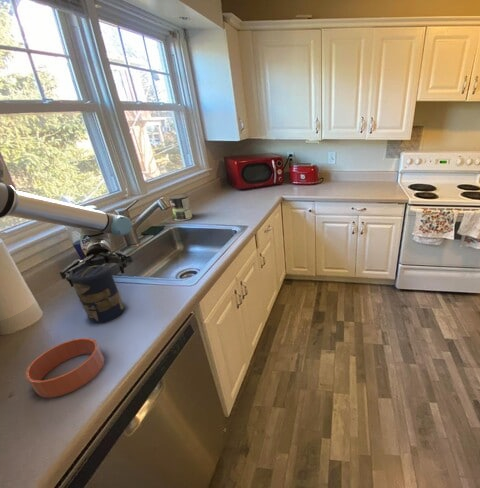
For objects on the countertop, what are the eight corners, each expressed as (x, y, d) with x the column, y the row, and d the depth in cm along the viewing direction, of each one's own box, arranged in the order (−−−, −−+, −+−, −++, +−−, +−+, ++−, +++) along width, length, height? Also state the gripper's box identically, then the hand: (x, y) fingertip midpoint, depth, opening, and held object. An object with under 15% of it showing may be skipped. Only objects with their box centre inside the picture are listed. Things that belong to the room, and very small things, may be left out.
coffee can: (177, 222, 168) (171, 199, 161) (172, 217, 175) (166, 196, 168) (195, 218, 174) (190, 196, 168) (189, 214, 181) (184, 192, 175)
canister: (82, 323, 89) (58, 274, 81) (110, 304, 97) (90, 259, 89) (107, 327, 87) (84, 278, 79) (132, 308, 95) (114, 262, 87)
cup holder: (33, 378, 70) (22, 361, 68) (97, 346, 80) (89, 330, 77) (42, 411, 63) (30, 393, 60) (112, 372, 72) (104, 355, 69)
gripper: (139, 252, 117) (143, 274, 101) (61, 270, 104) (53, 298, 88) (133, 235, 113) (137, 255, 98) (52, 252, 101) (42, 278, 85)
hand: (97, 276), depth 93 cm, fingers open, 13 cm apart
